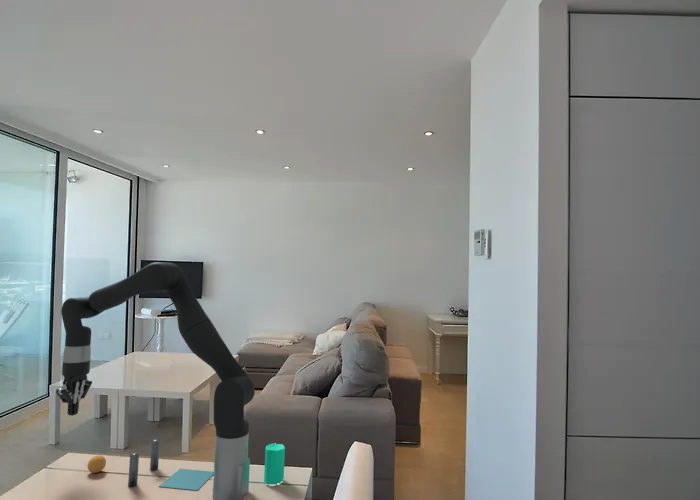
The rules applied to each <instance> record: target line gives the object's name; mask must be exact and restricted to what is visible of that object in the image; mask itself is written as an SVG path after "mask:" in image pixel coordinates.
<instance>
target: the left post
mask: <svg viewBox="0 0 700 500" xmlns="http://www.w3.org/2000/svg"><path fill="white" fill-rule="evenodd" d="M139 461H140V452H139V451H135V452H131V453H130V454H129V467H128V481H127V482H128V483H127V486H128V488H135V487H136V486H138V478H139V477H138V475H139Z"/></svg>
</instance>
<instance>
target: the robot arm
mask: <svg viewBox="0 0 700 500" xmlns="http://www.w3.org/2000/svg"><path fill="white" fill-rule="evenodd" d="M154 292H155V293H165V294H166V295H167V296H168V297H169V299H170V300H171V302H172V303H173V305H174V307H175V310H176V316H177V327H178V331H179V334H180V336H181V337H182V339H183V341H184V342H185V343H186V346H187V347H188V348H189V350H190V351H191V352H192V353H193V355H195V356H197V357H198V358H199V359H200V360H202V361H203V362H204V363H205V364H207V365H208V366H209V367H211V368H212V370H213V371H214V372H215V374H216V375H217V377H218V378H219V380H220V382H219V383H218V384H217V386H216V387H215V390H214V394H213V424H214V428H215V441H214V442H215V443H214V444H215V446H214V463H213V472H214V474H213V479H212V480H213V481H212V482H213V483H212V499H213V500H243V499H244V498H245V497H246V495H247V493H249V490H250V489H249V488H250V487H249V486H250V469H251V468H250V466H251V458H250V457H248V455H249V434H250V433H249V431H250V423H249V421H248V420H246V419H245V417H244V416H245V414H244V413H245V406H247V404H249V403H250V402H251V401H252V400H253V399H254V396H255V395H256V394H255V391H256V390H255V385H254V382H253V379H251V377H250V376H249V375H248V373H247V371H245V369H244V368H243V366H241V364H239V362H238V361H237V359H236V358H235V357H234V356H233V354H232V352H231V351H230V349H229V348H228V346H227V344H226V343H225V342H224V340H223V339H222V337H221V335H220V333H219V331H218V330H217V328H216V327H215V325H214V324H213V322H212V320H211V319H210V317H209V316H208V314H206V312H205V310H204V309H203V307H202V305H201V303H200V302H199V299H197V297H196V295H195V294H194V292H193V290H192V288H191V286H190V284H189V282H188V280H187V278H186V276H185V273H184V272H183V270H182V269H181V267H180V266H179V265H177V264H175V263H172V262H168V261H167V262H164V261H161V262H160V261H157V262H156V261H154V262H151V263H149V264H147V265H146V266H144V267H142V268H141V269H139V270H138V271H136V272H134V273H133V274H131V275H130V276H128V277H126V278H124V279H121V280H120V281H117V282H114V283H112V284H109V285H106V286H104V287H102V288H98V289H96V290H94V291H93V292H91V293H90V295H89V296H77V297H69V298H67V299H66V300H65V301H64V302H63V303H62V306H61V311H60V312H61V318H62V319H61V320H62V323H63V326H64V330H65V340H64V341H65V342H64V350H63V353H62V354H63V355H62V365H61V366H62V367H61V368H62V369H61V375H62V376H63V381H62V385H61V387H60V388H56V390H55V393H56V394H57V396H58V397H59V399H60V400H61V402H62V403H64V404H67V416H71V417H72V416H75V415H78V413H79V409H80V408H79V407H80V402H81V400H83V399H85V397H86V395H87V393H88V392H89V390H90V388H91V386H92V384H93V381H92V380H89V379H88V374H89V373H90V372H91V371H90V369H91V356H92V347H91V346H92V345H91V342H92V329H91V327H89V326H86V325H83V322H82V320H83V319H90V318H93V317H94V318H95V317H96V316H99V315H100V314H102V313H103V312H104V311H108V310H110V309H113V308H115V307H118V306H120V305H122V304H124V303H126V302H127V301H128V300H129V299H131V298H133V297H135V296H138V295H142V294H147V293H154Z"/></svg>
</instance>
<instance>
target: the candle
mask: <svg viewBox="0 0 700 500" xmlns="http://www.w3.org/2000/svg"><path fill="white" fill-rule="evenodd" d="M285 451H286V447H285V445H284V444H282V443H277V442H276V441H275V443H270V444H267V445H266V446H265V450H264V454H265V456H264V470H263V471H264V473H263V474H264V475H263V477H264V478H263V483H264V482H265V483H267V484H277V483H280V482H281V481H283V479H284V480H285V476H284V475H285V455H286V452H285ZM283 482H284V481H283Z"/></svg>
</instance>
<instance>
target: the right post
mask: <svg viewBox="0 0 700 500" xmlns="http://www.w3.org/2000/svg"><path fill="white" fill-rule="evenodd" d="M160 443H161V440H160V438H154V439H152V440H151V445H150V446H151V447H150V461H149V462H150V463H149V471H152V472H154V471H157V470H159V460H160V459H159V458H160V446H161V445H160Z"/></svg>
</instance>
